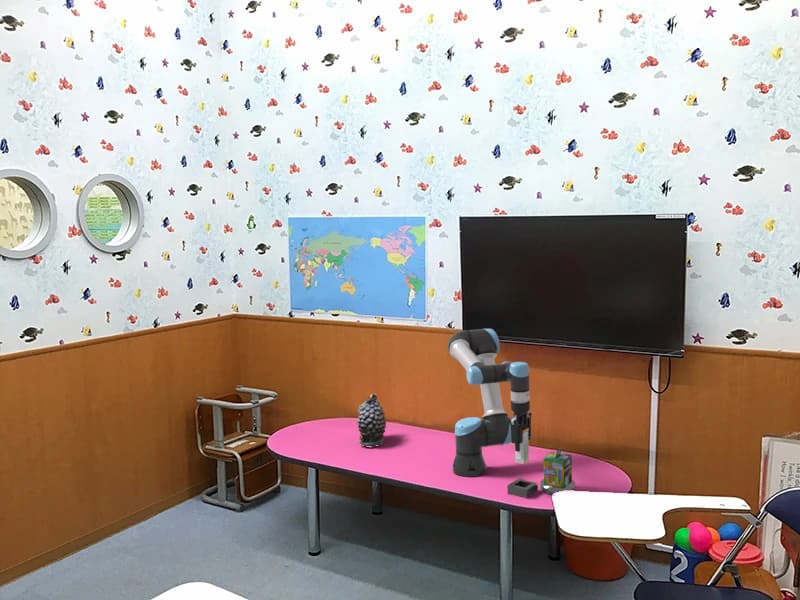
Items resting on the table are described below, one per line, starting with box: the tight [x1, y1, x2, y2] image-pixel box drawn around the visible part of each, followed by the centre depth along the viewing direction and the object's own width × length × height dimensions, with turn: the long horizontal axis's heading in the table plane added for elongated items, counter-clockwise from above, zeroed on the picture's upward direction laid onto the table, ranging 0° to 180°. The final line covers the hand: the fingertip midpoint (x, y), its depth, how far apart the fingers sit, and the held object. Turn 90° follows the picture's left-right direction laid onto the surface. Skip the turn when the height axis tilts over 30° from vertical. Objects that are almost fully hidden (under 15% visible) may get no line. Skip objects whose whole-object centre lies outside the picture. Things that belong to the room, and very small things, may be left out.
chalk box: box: [543, 447, 573, 488], centre depth 285 cm, size 9×9×15 cm
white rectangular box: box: [514, 427, 530, 465], centre depth 282 cm, size 4×4×14 cm
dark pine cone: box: [356, 392, 387, 446], centre depth 355 cm, size 21×15×25 cm
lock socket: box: [506, 478, 539, 499], centre depth 284 cm, size 9×9×4 cm
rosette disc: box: [539, 478, 576, 496], centre depth 286 cm, size 14×14×2 cm
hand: (521, 456), depth 283 cm, fingers closed on white rectangular box, 4 cm apart
